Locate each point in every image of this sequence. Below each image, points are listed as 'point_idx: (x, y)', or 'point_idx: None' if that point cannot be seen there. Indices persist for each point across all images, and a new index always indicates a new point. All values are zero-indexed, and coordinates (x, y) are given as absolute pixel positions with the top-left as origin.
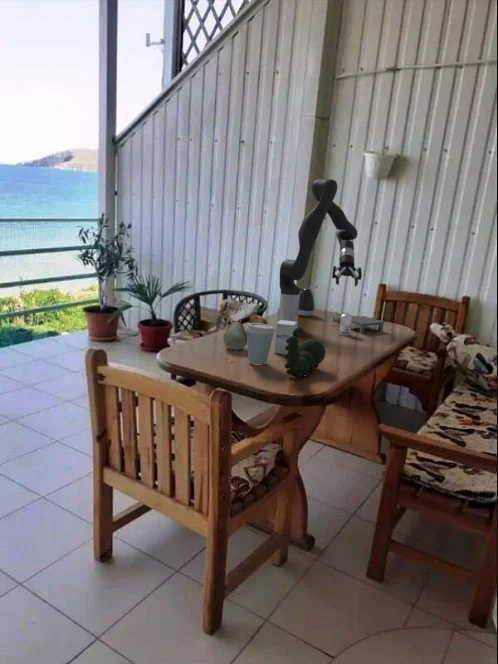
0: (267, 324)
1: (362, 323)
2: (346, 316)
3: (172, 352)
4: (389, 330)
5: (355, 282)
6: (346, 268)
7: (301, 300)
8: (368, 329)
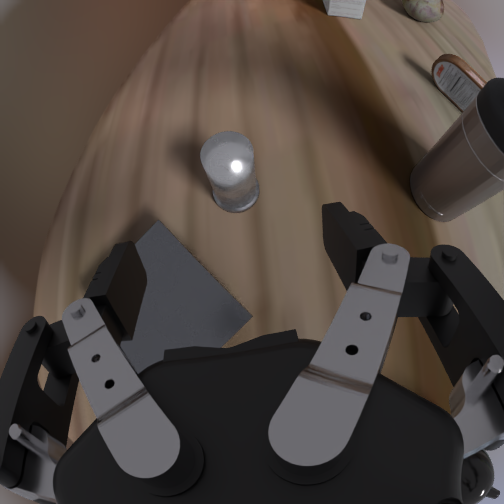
0: (439, 59)
1: (159, 226)
2: (225, 132)
3: (457, 8)
4: None
5: (123, 249)
6: (256, 467)
7: None
8: None
